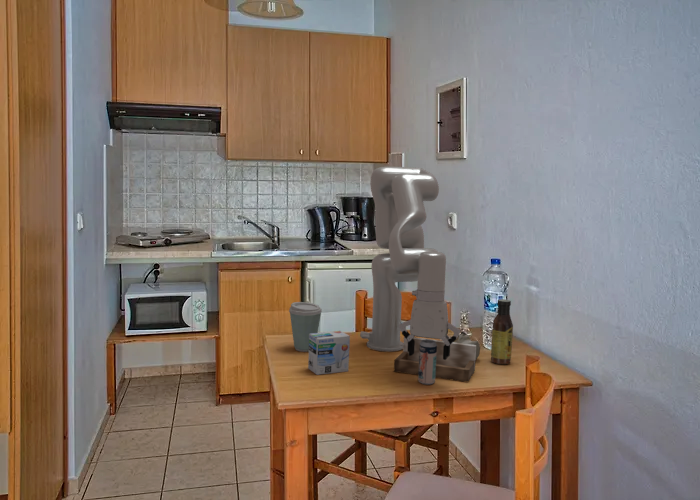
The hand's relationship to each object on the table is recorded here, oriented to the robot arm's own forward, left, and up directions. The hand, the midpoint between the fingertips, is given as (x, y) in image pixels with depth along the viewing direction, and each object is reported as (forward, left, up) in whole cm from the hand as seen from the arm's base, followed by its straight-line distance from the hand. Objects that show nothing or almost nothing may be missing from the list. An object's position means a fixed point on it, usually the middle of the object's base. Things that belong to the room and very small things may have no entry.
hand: (428, 356), depth 177 cm
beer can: (0, 0, -8) cm, 8 cm away
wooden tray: (0, +11, -8) cm, 14 cm away
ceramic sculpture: (+4, +29, -8) cm, 31 cm away
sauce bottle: (+17, +30, -8) cm, 35 cm away
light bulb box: (-29, -1, -8) cm, 30 cm away
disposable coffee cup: (-44, +15, -8) cm, 47 cm away
